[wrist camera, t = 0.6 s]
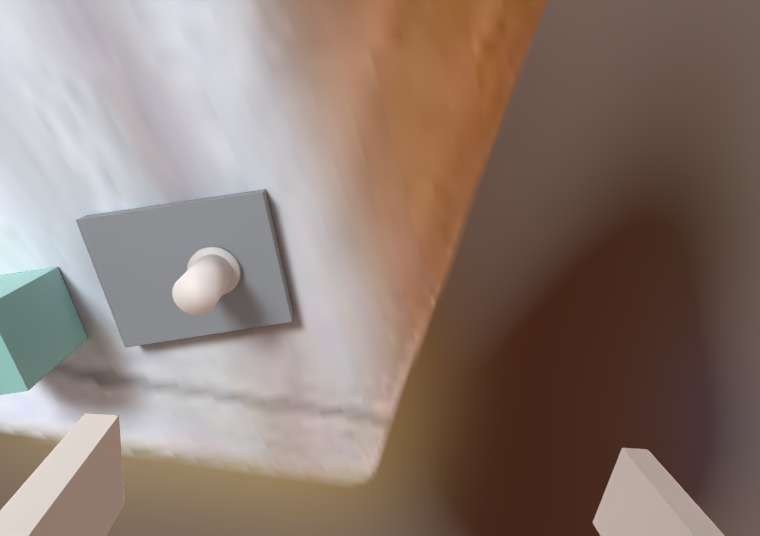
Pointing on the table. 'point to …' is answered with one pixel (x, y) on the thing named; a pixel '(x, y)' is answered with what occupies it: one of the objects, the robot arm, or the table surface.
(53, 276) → the teal cube with ledge
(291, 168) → the table surface
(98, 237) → the post board
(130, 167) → the table surface
